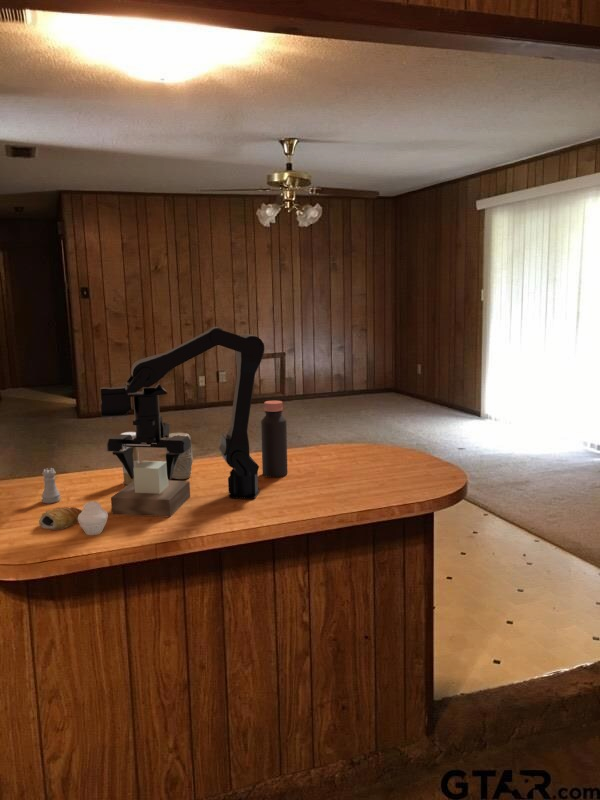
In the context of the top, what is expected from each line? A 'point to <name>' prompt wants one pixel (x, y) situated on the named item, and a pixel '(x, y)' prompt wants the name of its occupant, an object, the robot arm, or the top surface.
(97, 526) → the muffin
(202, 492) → the top surface
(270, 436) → the vinegar
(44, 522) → the pastry
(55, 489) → the rook chess piece
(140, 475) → the sage cube
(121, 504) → the walnut base
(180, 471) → the carving
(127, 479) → the sprinkles bottle
